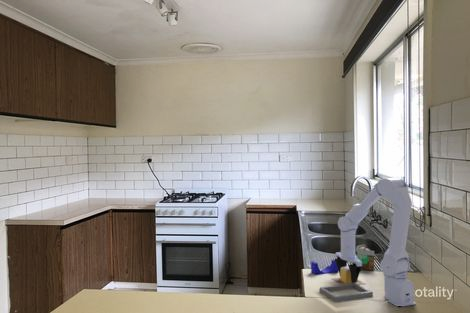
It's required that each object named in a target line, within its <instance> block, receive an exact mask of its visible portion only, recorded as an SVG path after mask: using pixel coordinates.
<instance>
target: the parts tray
mask: <svg viewBox="0 0 470 313" xmlns="http://www.w3.org/2000/svg"><path fill="white" fill-rule="evenodd" d="M351 289H356V290H357V291H359V292H354V293H348V294H341V295H335V294H334V293H332V292H335V291H343V290H351ZM319 293H321V294H323V295H324V296H325V297H327V298H329V299H331V301H333V302H335V303H336V302H343V301H350V300H357V299H363V298H370V297H373V296H374V291H373V290H372V291H371V289H370V290H369V289H368V288H366V287H364V286H363V285H358V284H356V283H350V284H343V285H341V284H336V285H329V286H321V287H319Z"/></svg>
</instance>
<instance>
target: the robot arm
mask: <svg viewBox="0 0 470 313" xmlns="http://www.w3.org/2000/svg"><path fill="white" fill-rule="evenodd" d="M381 198H386V200H389V201H390V203H391V204H392V205H393V214H392V221H391V230H390V235H389V236H390V237H389V243H388V248H387V250H385V252H384V253H383V258H382V260H381V261H380V264H379V266H380V269H381V272H382V273H383V276H384V280H383V281H384V297H385V302H388V303H390V304H392V305H394V306H395V307H398V306H402V307H407V306H413V305H417V303H416V302H415V286H414V283H413V282H412V281H411V280H409V279H408V278H407V274H408V273H407V272H408V271H409V270H410V268H411V263H410V260H409V258H410V257H409V256H410V255H409V253H408V251H406V247H407V242H408V240H407V239H408V235H409V234H408V233H409V226H410V219H411V213H412V212H411V211H412V207H413V206H412V204H413V203H412V202H413V201H412V198H411V195H410V192H409V184H408V183H406V181H404V180H403V179H402V178H400V177H394V178H386V177H385V178H381V179H379V180H378V181H377V182H376V183H375V184H374V185H373V188H372V189H371V190H370V192H369V193H368V194H367V195H366V196H365V198H364V199H363V200H362V202H361V203H356V204H353V205H352V206H351V209H350V210H349V211H348V212H346V213H345V216H341V217H339V218H338V219H337V220H338V221H337V227H338V229H339V231H340V251H339V252H335V258H334V259H333V260H334V261H335V262H336V264H337V267H338V270H339V272H338V273H339V274H338V275H340V268H341V267H347V265H348V267H349V269H350V273H351V281H352V283H355V282H357V280H359V276H360V273H361V271H362V268H363V265H362V261H360V260H359V259H358V255H356V234H357V229H358V228H359V224H360V223H361V222H362V220H364V219H365V218H366V216H368V214H369V209H370V208H371V207H373V205H374V204H375V203H377V202H378V201H379V200H380V199H381ZM348 263H351V264H348Z"/></svg>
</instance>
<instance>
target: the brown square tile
mask: <svg viewBox="0 0 470 313" xmlns="http://www.w3.org/2000/svg"><path fill="white" fill-rule="evenodd" d="M331 280H332V281H334V282H335V283H337V284H338V285H343V284H350V283H344V282H342V281H341V280H340V277H334V278H331ZM355 283H356V284H358V285H360V286H363V285H366V282H363V281H361V280H359V279H358V280H357V282H355Z"/></svg>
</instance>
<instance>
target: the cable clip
mask: <svg viewBox="0 0 470 313" xmlns="http://www.w3.org/2000/svg"><path fill="white" fill-rule="evenodd" d="M310 266H311V267H310V270H311V271H310V272H311V274H312V275H314V276H316V275H317V274H318V275H324V274H327V275H328V274H334V273H339V270H338V267H337V264H336V262H335V261H334V259H331V263H330V264H329V265H327V266H326V267H324V268H323V269H320V268H319V267H320V266H319V264H318V262H316V261H314V260H313V261H311V262H310Z"/></svg>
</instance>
